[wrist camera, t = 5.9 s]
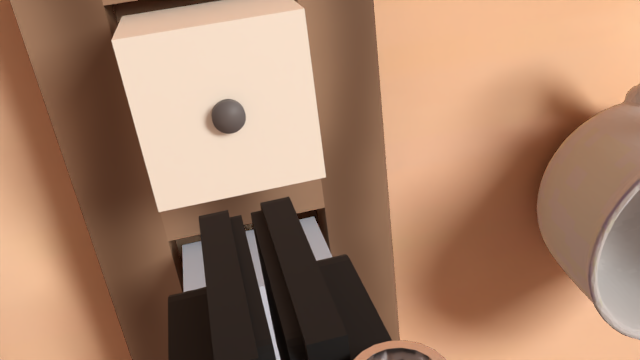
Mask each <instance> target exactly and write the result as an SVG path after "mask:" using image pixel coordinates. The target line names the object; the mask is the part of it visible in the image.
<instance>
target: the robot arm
mask: <svg viewBox="0 0 640 360" xmlns="http://www.w3.org/2000/svg"><path fill="white" fill-rule="evenodd" d="M260 206H261V211H256V212H252V213H251V219H252V224H253V229H254V234H255V239H256V244H257V249H258V254H259V260H260V265H261V270H262V275H263V280H264V285H265V290H266V295H267V300H268V305H269V310H270V315H271V320H272V325H273V330H274V335H275V339H276V344H277V348H278V352H279V356H280V360H446V359H445V358H444V357H443V356H441V355H440V354H439V353H438V352H437V351H436V350H434V349H432V348H430V347H428V346H425V345H423V344H421V343H416V342H411V341H406V340H403V341H392V339H391V337H390V335H389V333H388V331H387V330H386V328H385V326H384V324H383V322H382V320H381V318H380V316H379V314H378V312H377V310H376V308H375V306H374V304H373V302H372V301H371V299H370V297H369V295H368V293H367V291H366V289H365V287H364V285H363V283H362V281H361V279H360V277H359V275H358V273H357V272H356V270H355V268H354V266H353V264H352V262H351V260H350V258H349V257H348V255H346V254H343V255H339V256H335V257H330V258H326V259H322V260H318V261H316V259H315V256H314V254H313V251H312V249H311V247H310V244H309V242H308V240H307V237H306V235H305V233H304V230H303V228H302V225H301V223H300V221H299V218H298V216H297V214H296V211H295V209H294V206H293V204H292V202H291V199H290V197H284V198H280V199H275V200H271V201H266V202H261V203H260ZM199 226H200V235H201V245H202V254H203V263H204V272H205V282H206V287H203V288H199V289H195V290H190V291H186V292H182V293H178V294H173V295H169V297H168V360H276V356H275V351H274V347H273V343H272V338H271V334H270V330H269V326H268V322H267V318H266V314H265V310H264V306H263V302H262V298H261V294H260V289H259V285H258V281H257V277H256V273H255V269H254V265H253V261H252V257H251V253H250V249H249V244H248V240H247V236H246V232H245V228H244V224H243V220H242V216H241V215H238V216H233V217H229V212H228V210H225V211H220V212H215V213H211V214H206V215H201V216H199Z"/></svg>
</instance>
